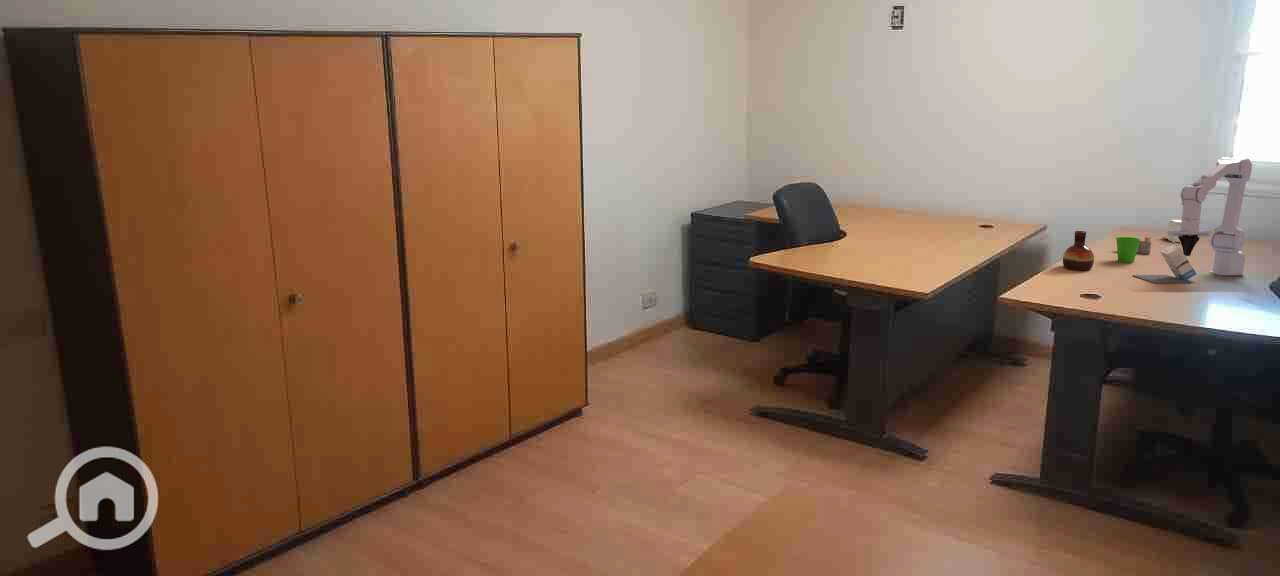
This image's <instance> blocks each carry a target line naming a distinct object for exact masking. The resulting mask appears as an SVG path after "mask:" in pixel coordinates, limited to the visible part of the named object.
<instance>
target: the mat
mask: <svg viewBox="0 0 1280 576" xmlns="http://www.w3.org/2000/svg"><path fill="white" fill-rule="evenodd" d="M1132 277H1134V278H1137V279H1140V280H1143V281H1144V282H1145V281H1146V282H1148V283H1152V284H1191V281H1187V280H1186V281H1185V280H1182V279H1179V278H1177V277H1175V276H1173V275H1169V274H1133V275H1132Z"/></svg>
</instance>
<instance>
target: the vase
mask: <svg viewBox="0 0 1280 576" xmlns="http://www.w3.org/2000/svg"><path fill="white" fill-rule="evenodd" d="M1086 237H1087V231H1084V230H1075V231H1074V242H1073V244H1072V245H1070V246H1068V247H1067V248H1066V250H1065V251H1064V252H1063V255H1062V264H1063V267H1064V269H1067V270H1070V271H1076V272H1088V271H1090V270H1091V269H1092V268H1093V265H1094V263H1095V255H1094V252H1093V251H1092V250H1091V248H1090V247H1088V246H1087V245H1086Z"/></svg>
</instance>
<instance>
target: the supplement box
mask: <svg viewBox="0 0 1280 576" xmlns="http://www.w3.org/2000/svg"><path fill="white" fill-rule="evenodd" d="M1181 221H1182V219H1169V220H1168V225H1167V232H1168V231H1170V230H1181ZM1166 237H1167V238H1166V240H1167V239H1168V240H1167V241H1169V240H1170V241H1169V242H1171V241H1172V242H1171V243H1173V242H1180V240H1179V238H1178V236H1168V233H1167V235H1166Z"/></svg>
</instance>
